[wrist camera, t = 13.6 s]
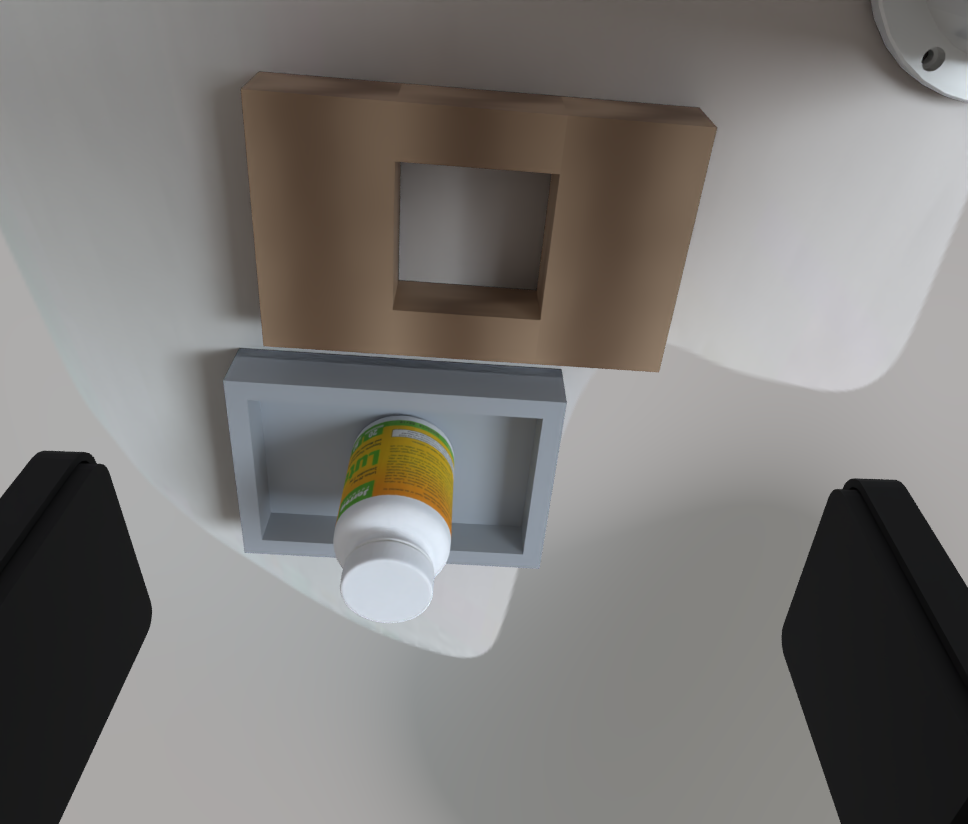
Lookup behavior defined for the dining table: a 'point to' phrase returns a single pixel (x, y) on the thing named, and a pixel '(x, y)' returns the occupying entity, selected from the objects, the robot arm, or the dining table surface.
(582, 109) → the socket holder
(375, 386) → the parts tray
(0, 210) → the dining table surface
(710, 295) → the dining table surface
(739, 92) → the dining table surface
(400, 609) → the supplement bottle
